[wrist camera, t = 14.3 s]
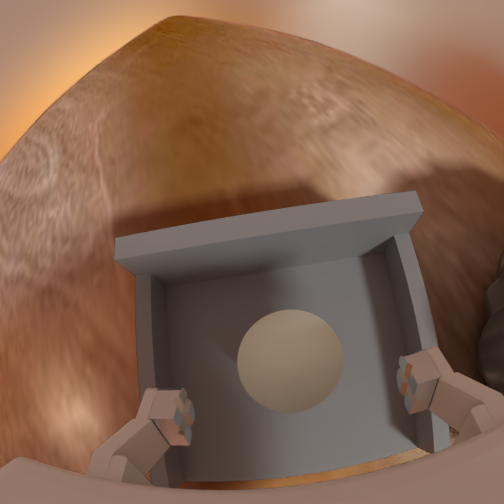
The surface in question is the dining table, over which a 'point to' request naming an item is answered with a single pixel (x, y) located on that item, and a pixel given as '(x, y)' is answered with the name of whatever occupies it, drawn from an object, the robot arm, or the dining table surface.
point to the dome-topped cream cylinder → (290, 361)
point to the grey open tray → (272, 300)
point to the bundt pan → (493, 333)
